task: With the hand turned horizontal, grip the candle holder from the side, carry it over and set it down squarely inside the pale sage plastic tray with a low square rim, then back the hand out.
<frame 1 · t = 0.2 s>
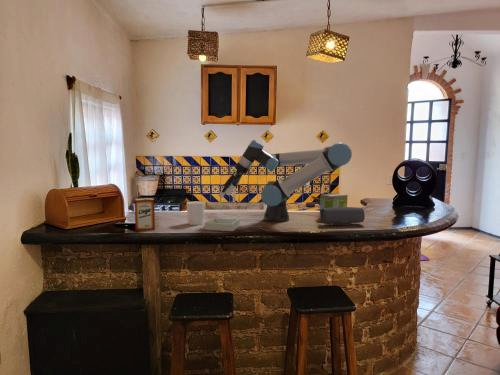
hand: (223, 195, 207), 15 cm above the table, tool tilted 35°, fingers open, 13 cm apart
candle holder: (195, 224, 202), on the table
tea box: (333, 218, 221), on the table
bluetooth speaker: (341, 225, 201), on the table
tray: (222, 227, 192), on the table
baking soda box: (145, 229, 187), on the table
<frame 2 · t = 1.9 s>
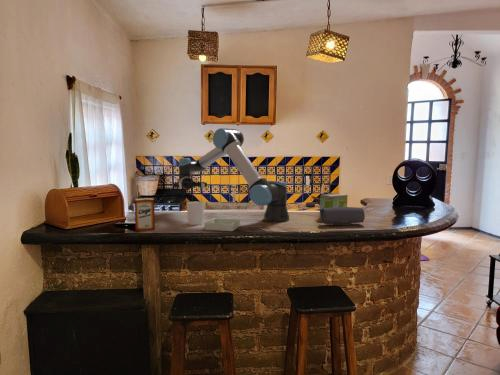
hand: (192, 186, 209), 20 cm above the table, tool horizontal, fingers open, 13 cm apart
nothing on the table moved.
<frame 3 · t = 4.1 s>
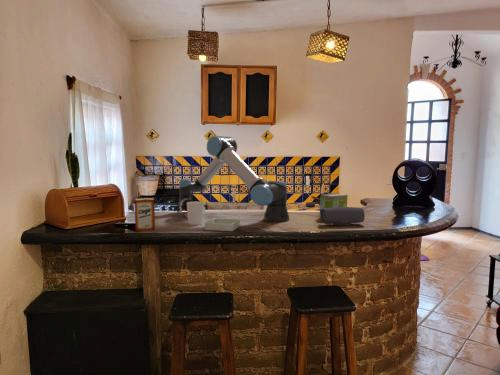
hand: (193, 210, 207), 7 cm above the table, tool horizontal, fingers open, 13 cm apart
nothing on the table moved.
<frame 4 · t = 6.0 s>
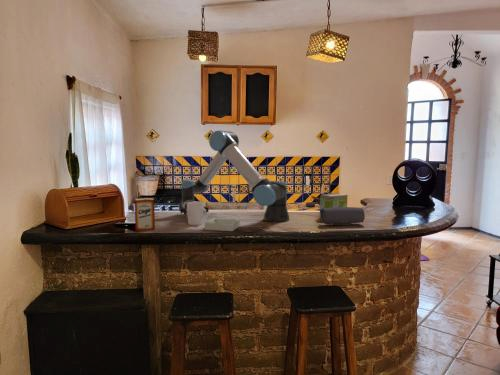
hand: (197, 212, 197), 7 cm above the table, tool horizontal, fingers closed on candle holder, 9 cm apart
candle holder: (195, 224, 202), on the table, touching gripper
everything else where it was.
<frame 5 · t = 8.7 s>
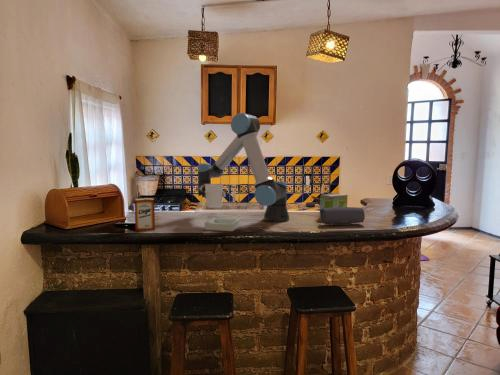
hand: (216, 194, 189), 18 cm above the table, tool horizontal, fingers closed on candle holder, 9 cm apart
candle holder: (214, 207, 194), point 11 cm above the table, touching gripper
everything else where it was.
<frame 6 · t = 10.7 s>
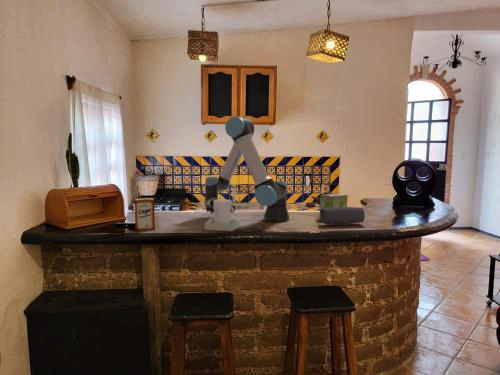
hand: (224, 211, 187), 10 cm above the table, tool horizontal, fingers closed on candle holder, 9 cm apart
candle holder: (222, 223, 192), point 2 cm above the table, touching gripper
everything else where it was.
when the fingers open (9 cm above the table, at t = 11.2 s): candle holder moves 3 cm, resting on tray.
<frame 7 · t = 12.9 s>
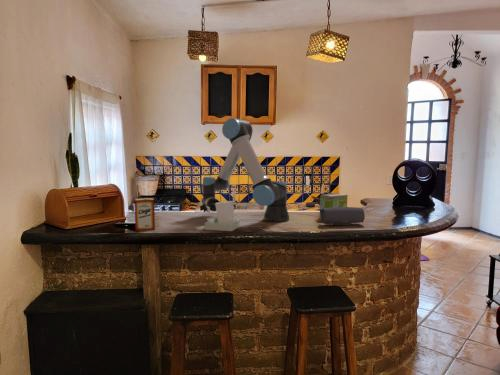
hand: (221, 209, 192), 9 cm above the table, tool horizontal, fingers open, 13 cm apart
candle holder: (226, 224, 194), point 1 cm above the table, touching tray
everything else where it was.
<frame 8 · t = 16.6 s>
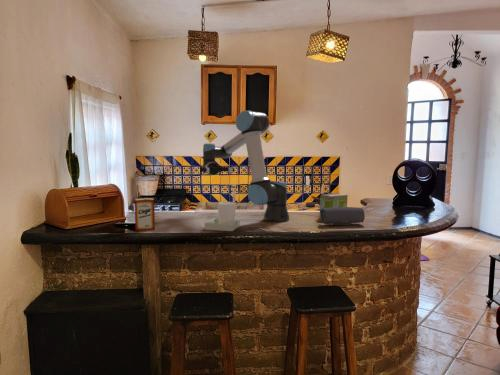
hand: (220, 170, 202), 30 cm above the table, tool horizontal, fingers open, 13 cm apart
at the end: candle holder 2.7 cm off-centre on the tray, point 0.6 cm above the tray's base; candle holder tilted 0°; the gripper is holding nothing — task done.
